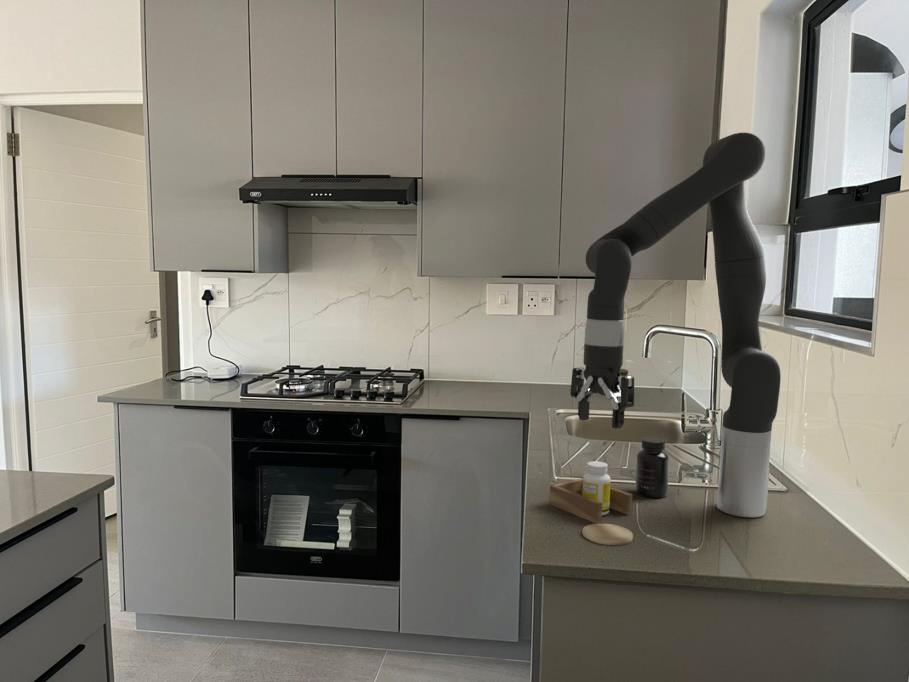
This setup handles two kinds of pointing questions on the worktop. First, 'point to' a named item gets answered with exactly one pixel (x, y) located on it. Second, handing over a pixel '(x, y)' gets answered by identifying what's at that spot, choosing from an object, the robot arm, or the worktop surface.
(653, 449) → the supplement bottle
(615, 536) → the coaster
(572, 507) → the frame
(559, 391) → the worktop surface
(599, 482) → the supplement bottle
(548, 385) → the worktop surface
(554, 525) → the worktop surface
